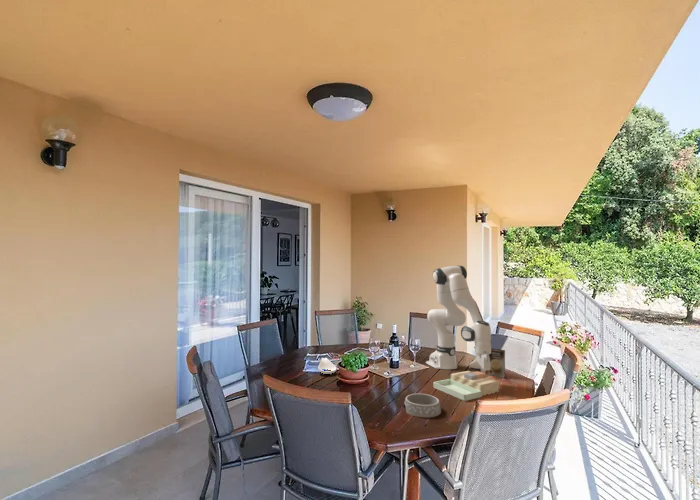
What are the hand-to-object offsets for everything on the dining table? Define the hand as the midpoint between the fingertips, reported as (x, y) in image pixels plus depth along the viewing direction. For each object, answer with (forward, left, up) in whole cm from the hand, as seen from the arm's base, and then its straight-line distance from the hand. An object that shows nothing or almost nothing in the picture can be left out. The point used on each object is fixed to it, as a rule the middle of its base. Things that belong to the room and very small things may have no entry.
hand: (483, 373), depth 215 cm
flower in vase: (-28, +27, -7) cm, 39 cm away
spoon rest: (-70, -67, -7) cm, 97 cm away
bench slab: (0, -7, -7) cm, 10 cm away
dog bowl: (+10, -53, -8) cm, 55 cm away
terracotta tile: (0, -4, -1) cm, 4 cm away
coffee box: (-10, +24, -7) cm, 27 cm away
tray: (0, -21, -7) cm, 22 cm away
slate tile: (0, -10, -1) cm, 10 cm away
